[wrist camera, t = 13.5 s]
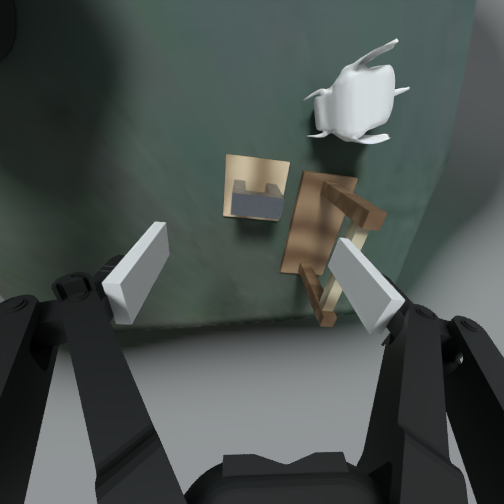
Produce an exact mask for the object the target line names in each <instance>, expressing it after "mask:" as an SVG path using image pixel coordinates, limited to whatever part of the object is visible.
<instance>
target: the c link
mask: <svg viewBox="0 0 504 504" xmlns="http://www.w3.org/2000/svg"><path fill="white" fill-rule="evenodd" d="M284 200H285V198H284V196H283V195H282V193H281V191H280V189H279V188H278V186H277V184H270V183H266V185H265V192H257V191H248V190H246V185H245V181H244V180H236V179H234V184H233V190H232V200H231V215H239V216H249V217H259V218H269V219H279V220H281V215H282V210H283V205H284Z"/></svg>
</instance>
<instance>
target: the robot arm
mask: <svg viewBox="0 0 504 504" xmlns="http://www.w3.org/2000/svg"><path fill="white" fill-rule="evenodd" d="M14 35H15V10H14V4H13V0H0V60H1V59H2V58H3V57H4V56H5V55H6V54H7V53H8V51H9V50H10V48H11V45H12V43H13V39H14ZM169 255H170V254H169V245H168V236H167V227H166V223H165V222H154V223H153V224H152V226H151V227H150V228H149V229H148V230H147V231H146V232H145V234H144V235H143V236H142V237H141V238H140V239H139V241H138V242H137V243H136V244H135V245H134V246H133V247H132V249H131V250H130V251H129V252H128V253H127V254H126V255H117V256H115V257H113V258H112V259H110V260H109V261H108V262H107V263H106V264H105V265H104V266H103V267H102V268H101V269H100V271H98V272H97V273H96V275H95V276H94V277H93V278H92V277H91V276H90V275H89V274H88V273H84V272H77V273H71V274H68V275H65V276H62V277H61V278H59V279H57V280H56V281H55V282H54V283H53V284H52V290H53V292H54V294H55V296H56V298H57V300H52V301H45V302H39V301H38V299H37V298H36V297H35V296H33V295H21V296H17V297H13V298H10V299H8V300H5V301H3V302H2V303H0V504H24V501H25V497H26V492H27V488H28V483H29V478H30V474H31V469H32V465H33V460H34V456H35V451H36V447H37V441H38V438H39V433H40V428H41V424H42V420H43V415H44V411H45V406H46V401H47V397H48V393H49V388H50V383H51V379H52V374H53V370H54V365H55V361H56V356H57V352H58V347H59V345H60V344H64V343H68V345H69V350H70V354H71V359H72V363H73V367H74V372H75V377H76V381H77V386H78V390H79V395H80V399H81V404H82V409H83V413H84V418H85V422H86V426H87V431H88V435H89V440H90V445H91V449H92V453H93V458H94V462H95V468H96V475H97V477H96V481H95V491H96V497H97V503H98V504H468V498H467V490H466V483H465V479H464V476H463V474H462V472H461V470H460V469H459V468H457V467H456V466H454V465H453V464H452V463H451V461H450V458H449V447H448V434H447V421H446V412H447V415H448V418H449V421H450V424H451V427H452V430H453V433H454V436H455V439H456V442H457V445H458V448H459V451H460V454H461V457H462V460H463V463H464V466H465V469H466V472H467V475H468V478H469V481H470V484H471V487H472V490H473V493H474V495H475V499H476V502H477V504H504V358H503V356H502V355H501V353H500V352H499V350H498V349H497V347H496V346H495V344H494V343H493V341H492V340H491V338H490V337H489V336H488V334H487V333H486V331H485V330H484V329H483V328H482V327H481V326H480V325H478V324H477V323H476V322H475V321H473V320H471V319H468V318H466V317H463V316H455V317H454V318H453V319H452V320H451V321H447V320H443V319H440V318H438V317H437V315H436V314H435V313H434V312H432V311H431V310H430V309H428V308H426V307H424V306H421V305H418V304H413V303H412V302H411V301H410V300H409V299H408V298H407V296H406V295H404V293H403V292H402V291H401V290H400V289H398V287H397V286H396V285H394V283H393V282H392V281H391V280H390V279H389V278H388V277H387V276H385V275H384V274H382V273H380V272H379V271H378V270H377V269H376V268H375V267H374V266H373V265H372V264H371V263H370V261H369V260H368V259H367V258H366V257H365V256H364V255H363V254H362V253H361V252H360V251H359V250H358V249H357V247H356V246H355V245H354V244H353V243H352V242H351V241H350V240H349V239H347V238H339V239H338V242H337V244H336V247H335V250H334V252H333V255H332V257H331V260H330V262H329V265H328V267H329V269H330V270H331V272H332V273H333V275H334V277H335V278H336V280H337V282H338V283H339V285H340V287H341V288H342V290H343V292H344V293H345V295H346V296H347V298H348V300H349V301H350V303H351V305H352V306H353V308H354V310H355V311H356V313H357V315H358V316H359V318H360V319H361V321H362V323H363V324H364V326H365V328H366V329H367V331H368V333H369V334H382V332H383V331H384V329H385V328H386V327H387V328H388V330H389V331H390V334H389V335H388V336H387V338H386V339H385V340H384V342H383V343H382V344H381V345H382V346H384V345H385V344H386V345H385V350H384V355H383V360H382V364H381V369H380V374H379V379H378V384H377V388H376V394H375V398H374V403H373V408H372V412H371V417H370V422H369V427H368V432H367V437H366V442H365V446H364V450H363V454H362V456H361V458H360V460H359V462H358V464H357V466H354V465H352V464H350V463H348V462H346V460H345V457H344V454H343V452H320V453H319V452H318V453H313V454H311V455H309V456H306V457H304V458H302V459H300V460H297V461H295V462H293V463H290V464H287V465H286V464H282V463H279V462H276V461H273V460H270V459H266V458H264V457H261V456H258V455H255V454H242V455H241V454H240V455H223V462H222V463H221V464H218V465H216V466H214V467H213V468H211V469H209V470H208V471H206V472H205V473H204V474H202V475H201V476H200V477H199V478H198V479H197V480H196V481H195V482H194V483H193V484H192V485H191V487H190V488H189V489H188V491H187V492H186V493H185V494H184V495H183V493H182V490H181V488H180V486H179V483H178V481H177V479H176V476H175V474H174V471H173V469H172V467H171V465H170V462H169V460H168V457H167V455H166V453H165V450H164V448H163V445H162V443H161V441H160V438H159V436H158V434H157V432H156V430H155V428H154V426H153V424H152V421H151V419H150V416H149V414H148V412H147V410H146V407H145V404H144V402H143V400H142V397H141V395H140V393H139V390H138V388H137V386H136V383H135V381H134V379H133V376H132V374H131V371H130V369H129V367H128V364H127V362H126V359H125V358H124V355H123V353H122V350H121V348H120V345H119V343H118V340H117V338H116V336H115V333H114V331H113V329H112V326H111V324H110V321H111V319H112V318H113V317H114V320H115V323H116V324H127V325H132V323H133V321H134V320H135V318H136V316H137V314H138V312H139V310H140V309H141V307H142V305H143V303H144V301H145V299H146V297H147V296H148V294H149V292H150V290H151V288H152V286H153V284H154V283H155V281H156V279H157V277H158V275H159V273H160V271H161V270H162V268H163V266H164V264H165V262H166V260H167V258H168V257H169ZM462 357H463V361H462V363H461V361H460V359H461V358H462Z"/></svg>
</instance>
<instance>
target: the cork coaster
mask: <svg viewBox="0 0 504 504" xmlns="http://www.w3.org/2000/svg"><path fill="white" fill-rule="evenodd" d="M289 165H290V162H285V161H277V160H270V159H262V158H254V157H246V156H238V155H230V154H226V173H225V193H224V213H223V216H230V217H241V218H251V219H261V220H271V221H278V220H279V219H269V218H259V217H249V216H239V215H231V200H232V190H233V184H234V179H236V180H244V181H245V185H246V190H248V191H257V192H265V185H266V183H270V184H277V186H278V188H279V189H280V191H281V193H282V195H284V190H285V185H286V180H287V175H288V170H289Z"/></svg>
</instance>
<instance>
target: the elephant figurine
mask: <svg viewBox="0 0 504 504" xmlns="http://www.w3.org/2000/svg"><path fill="white" fill-rule="evenodd" d="M397 42H398V39H395V40H393V41H392V42H390V43H388V44H386V45H384V46H382V47H379V48H377V49H375V50H373V51H371V52H369V53H368V54H366V55H365V56H364V57H362V58H360V59H359V60H358V61H356V62H355V63H354V64H350V65H348V66H345V67H344V69H343V70H342V71H341V73H340V76H339V77H338V78H337V80H336V81H335V82H334V84H333V85H332V86H331V87H330V88H329V89H327V90H326V89H320V90H318V91H316V92H314V93H312V94H311V95H309V96H308V97H307V98H306V99H304V100H307V99H309V98H310V97H312V96H314V95H317V94H320V96H318V97H316V98H315V101H314V113H315V124H316V129H317V130H319V131H323V133H321V134H318V135H309V136H307V137H314V138H319V137H325V136H327V135H328V134H330V133H333V134H334V135H336V136H337V137H339V138H340V139H342V140H343V141H346V142H350V141H352V142H357V143H362V144H374V143H379V142H382V141H385V140H389V139H390V138H388V135H387V134H380V135H365V132H366V131H368V130H370V129H373V128H375V127H378V126H380V125H382V124H384V123H386V122H387V120H388V118H389V116H390V114H391V111H392V107H393V101H394V96H395V95H398V94H400V93H403V92H405V91H408V90H409V87H407V88H400V89H395V74H394V70H393V68H392V67H391V65H384V66H376V67H372V68H367V67H366V66H364V65H365V64H366V63H368V62H369V61H370V60H372V59H373V58H375V57H376V56H378V55H380V54H382V53H384V52H387V51H389V50H391V49H392V48H393V47H394V46H395V44H396V43H397Z"/></svg>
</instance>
